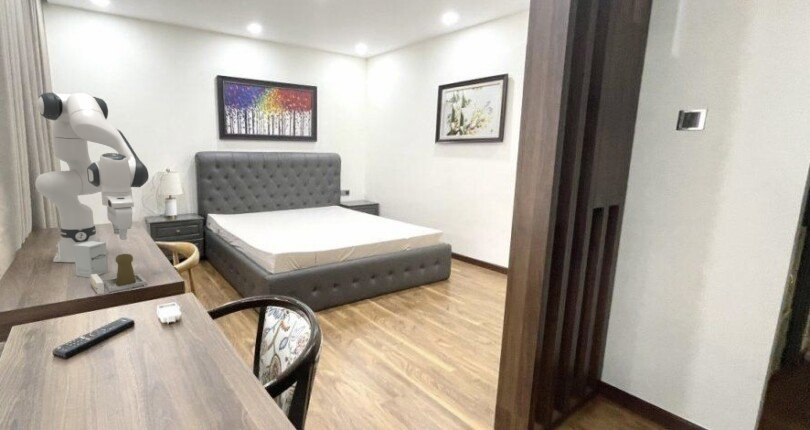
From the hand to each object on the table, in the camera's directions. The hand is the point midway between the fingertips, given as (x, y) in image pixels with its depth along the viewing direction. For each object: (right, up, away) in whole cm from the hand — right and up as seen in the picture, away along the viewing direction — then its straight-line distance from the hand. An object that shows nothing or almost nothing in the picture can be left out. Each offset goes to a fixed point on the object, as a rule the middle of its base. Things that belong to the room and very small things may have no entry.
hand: (120, 236), depth 144 cm
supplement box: (-20, -16, +13) cm, 29 cm away
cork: (0, -18, +3) cm, 18 cm away
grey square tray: (0, -18, +3) cm, 18 cm away
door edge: (-7, -19, -2) cm, 20 cm away
